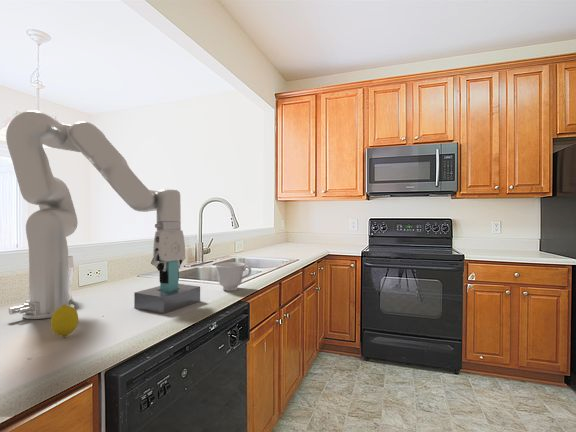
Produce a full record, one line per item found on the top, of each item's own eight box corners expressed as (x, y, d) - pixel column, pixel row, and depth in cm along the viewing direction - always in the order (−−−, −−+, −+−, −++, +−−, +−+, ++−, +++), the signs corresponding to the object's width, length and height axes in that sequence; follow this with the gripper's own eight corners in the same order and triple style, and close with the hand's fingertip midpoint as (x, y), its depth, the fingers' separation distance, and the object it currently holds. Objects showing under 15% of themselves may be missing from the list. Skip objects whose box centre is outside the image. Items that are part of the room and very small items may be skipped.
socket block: (163, 313, 97) (163, 297, 97) (134, 308, 102) (134, 292, 102) (200, 300, 111) (200, 286, 111) (172, 296, 117) (172, 282, 117)
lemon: (83, 332, 81) (83, 301, 81) (68, 341, 76) (68, 308, 76) (60, 333, 81) (60, 301, 81) (45, 341, 76) (44, 308, 76)
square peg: (169, 292, 104) (168, 262, 104) (160, 291, 106) (160, 261, 106) (178, 290, 108) (178, 260, 108) (169, 288, 109) (169, 259, 109)
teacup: (244, 294, 120) (244, 267, 120) (209, 291, 124) (209, 265, 124) (256, 287, 132) (256, 263, 132) (223, 284, 136) (223, 261, 136)
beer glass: (78, 298, 114) (78, 256, 114) (59, 303, 107) (59, 258, 107) (63, 296, 116) (63, 255, 115) (44, 302, 109) (43, 258, 109)
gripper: (156, 228, 97) (157, 288, 98) (195, 225, 112) (195, 277, 113) (139, 227, 101) (140, 285, 101) (179, 225, 116) (179, 276, 116)
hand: (169, 280), depth 107 cm, fingers closed on square peg, 4 cm apart
